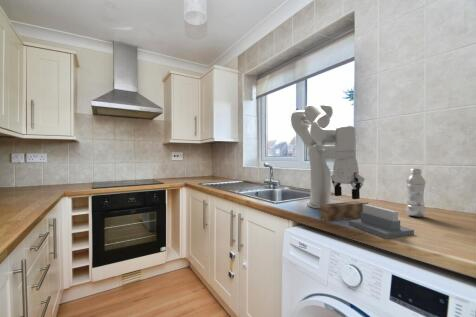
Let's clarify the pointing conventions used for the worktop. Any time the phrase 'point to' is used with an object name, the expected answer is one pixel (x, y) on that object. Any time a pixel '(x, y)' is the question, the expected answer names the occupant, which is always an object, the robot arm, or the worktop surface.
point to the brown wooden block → (341, 210)
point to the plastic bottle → (415, 194)
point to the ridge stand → (381, 222)
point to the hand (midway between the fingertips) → (346, 197)
